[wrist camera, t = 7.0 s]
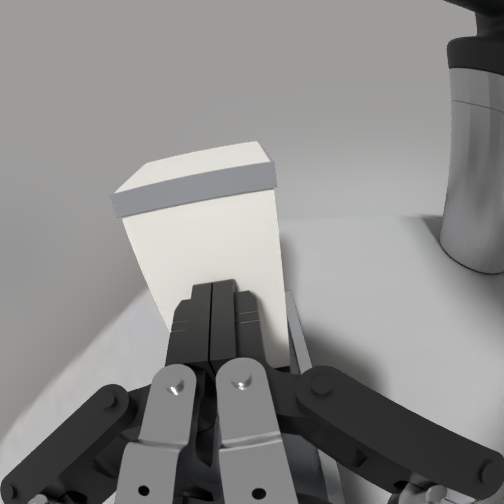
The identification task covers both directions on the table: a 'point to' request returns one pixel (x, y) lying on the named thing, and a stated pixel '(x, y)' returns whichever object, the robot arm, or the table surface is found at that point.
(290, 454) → the fader console
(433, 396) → the table surface
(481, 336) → the table surface
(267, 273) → the fader knob
